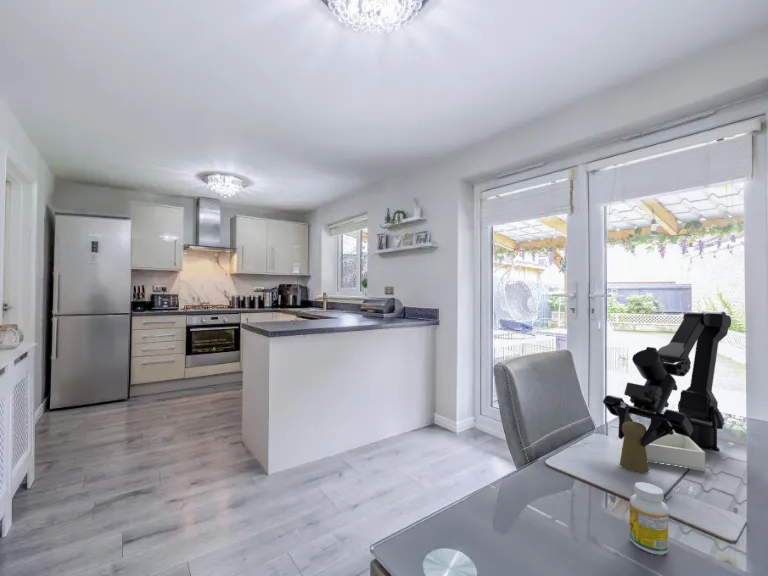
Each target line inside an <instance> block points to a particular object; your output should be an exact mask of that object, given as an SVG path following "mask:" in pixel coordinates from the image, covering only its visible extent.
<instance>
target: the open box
mask: <svg viewBox="0 0 768 576" xmlns="http://www.w3.org/2000/svg"><path fill="white" fill-rule="evenodd" d="M645 448H646V455H647V461H649V462H648V463H651V462H657V463H664V464H670V465H677V466H682V467H687V468H689V469H688V470H694V471H695V470H696V471H700V472H706V452H705V451H704V449H703V448H700V447H699V446H698V445H697V444H696V443H695V442H693V441H692V440H691V439H690V438H689V437H687V436H684V435H681V434H677V433H674V432H673V435H670V434H668V435H666V436H663V437H661V438H659V439H657V440H655V441H653V442H652V443H650V444H648V445H646V446H645ZM657 463H656V464H657ZM687 468H686V469H687Z"/></svg>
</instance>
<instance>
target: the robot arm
mask: <svg viewBox="0 0 768 576" xmlns="http://www.w3.org/2000/svg"><path fill="white" fill-rule="evenodd" d="M731 325H732V317H731V316H730V315H728V314H727V313H726V311H722V310H721V311H719V310H718V311H713V310H697V311H687V312H686V311H685V312H684V314H683V319H682V321H681V324H680V325H679V326H678V328H677V330H676V331H675V334H673V336H672V338H671V339H670V342H669V343H668V344H666V345H664V346H661V347H659V349H657V347H651V346H647V347H646V348H645V349H642V350H640V351H638V352H635V354H633V356H632V359H631V360H632V362H633V364H634V366H635V367H636V369H637V370H638V372H639V374H640V376H641V377H642V378H643V379H645V383H644V384H643V385H642V384H637V383H633V382H627V383H626V386H625V389H624V393H623V395H624V396H628V397H629V398H630V399H629V402H631V404H633V405H629V404H628V403H626V401H624V398H623V397H620V396H614V395H611V394H608V395H606V396H605V397H604V399H603V400H602V403H603V405H604V406H605V408H606V409H607V410H608V411H609V413H610V414H611V415H612V416H615V417H618V433H617V434H618V436H617V437H618V438H619V439H620V440H622V439H624V433H623V431H622V424H623V423H624V422H627V421H632V422H634V420H633V419H632V417H631V416H632V415H636V416H638V417H641V418H646V419H650V423H649V426H648V428H646V429H647V431H646V433H645V435H644V437H643V439H642V442H641V445H642V446H643V447H645V446H646V445H648V444H650V443H652V442H653V441H655V440H657V439H659V438H661V437H663V436H666V435H668V434H670V435H673V433H674V432H675V433H676V434H681V435H684V436H687V437H689V438H690V439H691V440H692V441H693V442H695V443H696V444H697V445H698V446H699V447H700V448H701V449H703V450H709V451H720V448H719V447H718V430H724V425H725V419H724V417H723V416H722V414H721V412H720V409H719V408H718V406H719V405H718V399H717V398H716V396H715V395H714V393H713V391H712V390H713V385H714V384H713V383H714V377H715V368H716V362H717V354H718V347H719V343H720V342H721V341H722V340H723V339H725V337H726V336H727V335H728V332H729V329H730V327H731ZM695 345H696V346H695ZM694 347H695V352H694V359H693V366H692V372H691V377H690V378H691V379H690V384H689V387H688V388H686V389H683V390H681V391H680V398H679V401H678V403H677V409H678V411H676V410H673V409H665V410H664V408H669V406H670V404H669V402H668V401H669V398H670V396H671V394H672V392H673V391H675V392H676V391H678V384H677V381H676V379H675V378H674V376H676V377H685V376H686V375H687V374H688V373H689V372H690V369H691V363H692V362H691V360H690V357H689V355H690V354H691V352H692V350H693V348H694ZM663 412H664V413H663Z"/></svg>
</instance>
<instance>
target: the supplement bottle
mask: <svg viewBox="0 0 768 576" xmlns="http://www.w3.org/2000/svg"><path fill="white" fill-rule="evenodd" d="M633 489H634V494H633V495H631V496H630V498H629V540H630V542H631V541H632V542H633V543H634V544H635V545H636V546H638V547H639V548H641V549H643V550H645V551H648V552H651V553H655V554H664V553H666V554H667V553H668V552H669V507H668V506H667V504H666V503H665V502H663V501H664V497H665V495H664V490H663V489H662V488H660V487H659V486H657V485H656V484H655V485H654V484H651V483H648V482H643V481H642V482H641V481H640V482H639V481H638V482H635V483H634V487H633ZM632 542H631V543H632ZM633 543H632V544H633ZM634 544H633V545H634ZM635 545H634V546H635ZM636 546H635V547H636ZM639 548H638V549H639Z"/></svg>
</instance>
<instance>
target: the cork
mask: <svg viewBox="0 0 768 576" xmlns="http://www.w3.org/2000/svg"><path fill="white" fill-rule="evenodd" d="M647 429H648V428H647V427H646V426H645V424H642V423H640V422H637V421H633V422H632V421H627V422H624V423H623V424H622V431H623V433H624V437H623V442H622V448H621V455H620V460H619V466H620V465H621V466H622V467H623V468H622V467H621V466H620V467H621V468H622V469H624V468H625V469H624V470H626V469H627V470H626V471H628V470H630V471H629V472H631V471H633V472H632V473H636V472H637V474H648V473H649V472H648V471H650V470H649V462H647V455H646V448H645V447H643V446H642V445H641V442H642V439H643V437H644V435H645V433H646V431H647ZM647 472H648V473H647Z"/></svg>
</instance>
